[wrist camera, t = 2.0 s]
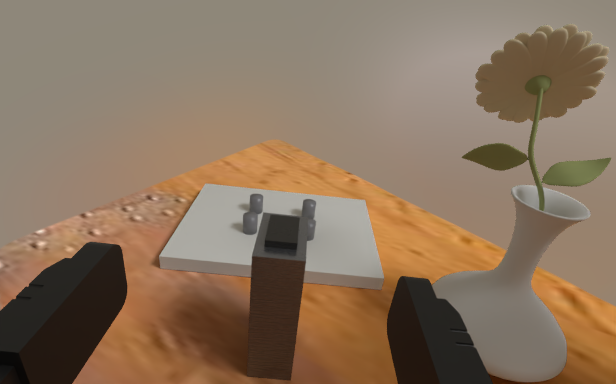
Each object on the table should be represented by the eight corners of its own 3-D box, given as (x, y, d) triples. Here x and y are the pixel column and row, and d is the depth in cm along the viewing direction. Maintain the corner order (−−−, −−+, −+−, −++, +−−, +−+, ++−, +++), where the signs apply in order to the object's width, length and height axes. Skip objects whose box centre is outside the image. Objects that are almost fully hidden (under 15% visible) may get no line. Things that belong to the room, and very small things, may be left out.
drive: (294, 325, 30) (308, 211, 25) (290, 380, 26) (306, 254, 21) (257, 322, 30) (263, 206, 25) (247, 376, 26) (252, 249, 21)
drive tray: (363, 209, 50) (367, 187, 48) (381, 290, 35) (388, 262, 34) (205, 193, 49) (205, 170, 47) (160, 268, 35) (157, 239, 33)
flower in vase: (554, 322, 34) (722, 42, 22) (561, 426, 25) (846, 47, 14) (420, 268, 39) (500, 18, 28) (386, 337, 30) (483, 11, 19)
